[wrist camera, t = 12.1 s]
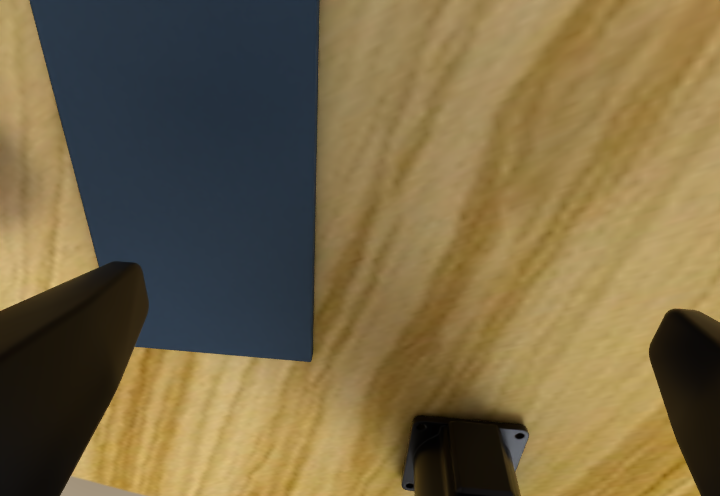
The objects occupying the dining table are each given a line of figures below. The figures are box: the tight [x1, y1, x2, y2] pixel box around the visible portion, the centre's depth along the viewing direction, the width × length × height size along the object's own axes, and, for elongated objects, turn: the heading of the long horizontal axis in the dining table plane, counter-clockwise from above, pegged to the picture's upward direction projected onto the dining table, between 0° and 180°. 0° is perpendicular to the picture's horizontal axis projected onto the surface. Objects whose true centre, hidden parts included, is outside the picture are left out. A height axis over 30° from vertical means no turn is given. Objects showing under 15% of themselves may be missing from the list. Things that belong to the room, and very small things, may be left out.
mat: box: [29, 0, 319, 362], centre depth 20 cm, size 18×10×1 cm, turn 176°
